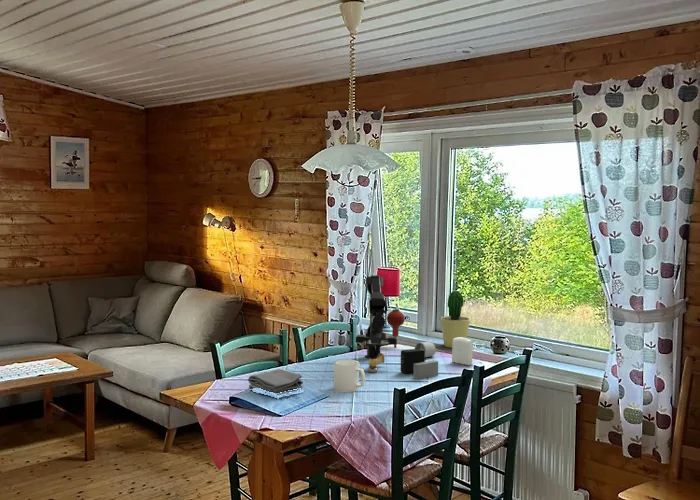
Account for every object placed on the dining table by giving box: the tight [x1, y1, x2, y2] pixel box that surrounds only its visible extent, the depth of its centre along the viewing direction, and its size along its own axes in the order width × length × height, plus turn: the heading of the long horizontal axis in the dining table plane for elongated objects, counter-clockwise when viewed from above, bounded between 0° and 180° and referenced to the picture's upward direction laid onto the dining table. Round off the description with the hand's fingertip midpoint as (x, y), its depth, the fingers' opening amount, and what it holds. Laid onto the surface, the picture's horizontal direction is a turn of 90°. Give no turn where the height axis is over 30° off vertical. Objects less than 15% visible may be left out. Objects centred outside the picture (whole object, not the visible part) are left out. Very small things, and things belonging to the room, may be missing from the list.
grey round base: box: [367, 367, 378, 374], centre depth 305 cm, size 4×4×2 cm
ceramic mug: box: [414, 341, 437, 359], centre depth 337 cm, size 11×8×8 cm
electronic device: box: [399, 348, 426, 375], centre depth 304 cm, size 4×10×10 cm, turn 115°
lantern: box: [386, 308, 406, 349], centre depth 356 cm, size 10×10×30 cm
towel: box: [247, 368, 304, 395], centre depth 270 cm, size 15×18×8 cm
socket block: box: [412, 359, 439, 380], centre depth 298 cm, size 3×12×6 cm, turn 128°
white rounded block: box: [451, 337, 474, 366], centre depth 323 cm, size 10×4×12 cm, turn 44°
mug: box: [333, 359, 366, 393], centre depth 276 cm, size 14×10×11 cm
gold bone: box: [368, 352, 386, 368], centre depth 310 cm, size 14×3×4 cm, turn 157°
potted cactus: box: [440, 290, 471, 349], centre depth 362 cm, size 15×15×30 cm
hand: (375, 358), depth 313 cm, fingers closed
